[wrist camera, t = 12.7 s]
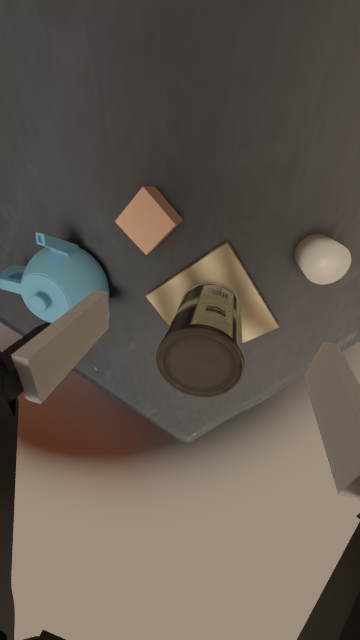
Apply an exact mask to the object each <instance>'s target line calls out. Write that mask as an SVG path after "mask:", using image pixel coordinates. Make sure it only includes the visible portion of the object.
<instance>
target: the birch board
mask: <svg viewBox="0 0 360 640" xmlns="http://www.w3.org/2000/svg"><path fill="white" fill-rule="evenodd" d="M205 282H214V283H219V284H222V285H224V286H226V287H228V288H230V289H231V290H232V291H233V292H234V293H235V294H236V295H237V297H238V298H239V300H240V303H241V307H242V314H241V322H242V343H244V342H246V341H249V340H251V339H253V338H256V337H258V336H260V335H263V334H265V333H267V332H270V331H272V330H274V329H277V328H279V325H278V322H277V321H276V319H275V317H274V316H273V314H272V312H271V311H270V309H269V307H268V306H267V304H266V303H265V301H264V299H263V298H262V296H261V294H260V293H259V291H258V289H257V288H256V286H255V285H254V283H253V281H252V280H251V278H250V276H249V275H248V273H247V271H246V270H245V268H244V266H243V265H242V263H241V262H240V260H239V258H238V257H237V255H236V253H235V252H234V250H233V248H232V247H231V245H230V243H229V242H228V241H226V242H225V243H223V244H222V245H220V246H219V247H217V248H216V249H214V250H213V251H211V252H210V253H208V254H207V255H205V256H204V257H202V258H201V259H199V260H198V261H196V262H195V263H193V264H192V265H190V266H189V267H187V268H186V269H184V270H183V271H181V272H179V273H178V274H176V275H175V276H173V277H172V278H170V279H169V280H167V281H166V282H164V283H163V284H161V285H160V286H158V287H157V288H155V289H154V290H152V291H151V292H149V293H148V294H147V295H146V297H147V298H148V300H149V301H150V302H151V303H152V305H153V306H154V307H155V308H156V310H157V311H158V312H159V314H160V315H161V316H162V317H163V319H164V320H165V321H166V322H167V324H168V325H169V326H170V325H171V323H172V321H173V319H174V316H175V314H176V312H177V310H178V308H179V306H180V303H181V300H182V298H183V296H184V294H185V293H186V292H187V291H188V290H189V289H190V288H192V287H193V286H195V285H197V284H201V283H205Z"/></svg>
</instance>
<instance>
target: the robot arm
mask: <svg viewBox="0 0 360 640" xmlns="http://www.w3.org/2000/svg"><path fill="white" fill-rule="evenodd" d="M108 328H109V317H108V294H107V292H105V291H101V290H95V291H94V292H92V293H91V294H90V295H88V296H87V297H86V298H85V299H83V300H82V301H81V302H79V303H78V304H77V305H75V306H74V307H73V308H72V309H70V310H69V311H68V312H66V313H65V314H64V315H62V316H61V317H60V318H59V319H57V320H56V321H55V322H53V323H52V324H50V323H45V324H43V325H40V326H38V327H36V328H34V329H33V330H32V331H30V332H29V334H26V335H25V336H23V337H22V339H20V340H18V341H17V342H16V343H14V344H13V345H11V346H10V347H8V348H7V349H6V350H4V351H3V352H2V353H1V352H0V640H14V622H15V621H14V620H15V617H14V616H15V614H14V600H13V595H12V589H11V569H12V544H13V522H14V498H15V475H16V474H15V472H16V451H17V450H16V449H17V427H18V404H19V401H18V398H17V397H18V396H19V395H20V394H21V393H22V392H23V391H24V394H25V397H26V399H27V400H30V401H33V402H36V403H40V404H41V403H42V402H43V401H44V400H45V399H46V398H47V396H48V395H49V394H50V393H51V392H52V391H53V390H54V389H55V388H56V386H57V385H58V384H59V383H60V382H61V381H62V380H63V378H64V377H65V376H66V375H67V374H68V373H69V372H70V371H71V370H72V368H73V367H74V366H75V365H76V364H77V363H78V362H79V361H80V359H81V358H82V357H83V356H84V355H85V354H86V353H87V352H88V351H89V349H90V348H91V347H92V346H93V345H94V344H95V343H96V342H97V340H98V339H99V338H100V337H101V336H102V335H103V334H104V333H105V331H106V330H107V329H108ZM304 379H305V382H306V386H307V389H308V393H309V396H310V399H311V403H312V406H313V410H314V413H315V416H316V420H317V423H318V427H319V430H320V433H321V437H322V440H323V443H324V447H325V450H326V453H327V457H328V461H329V464H330V467H331V471H332V474H333V478H334V481H335V484H336V487H337V491H338V494H340V495H344V496H347V497H350V498H353V499H357V500H360V384H359V383H358V381H357V379H356V377H355V375H354V373H353V372H352V370H351V368H350V366H349V364H348V363H347V361H346V359H345V357H344V355H343V353H342V352H341V350H340V348H339V346H338V345H337V344H333V343H328V342H324V341H323V343H322V345H321V346H320V348H319V350H318V352H317V353H316V355H315V357H314V359H313V360H312V362H311V364H310V366H309V367H308V369H307V371H306V373H305V374H304ZM357 517H358V518H359V519H360V513H359V514H358V515H357ZM24 640H65V639H63V638H61V637H58V636H56V635H54V634H51V633H49V632H47V631H45V630H43V631H42V633H41V635H40V636H35V637H31V638H27V639H24ZM297 640H360V522H359V524H358V526H357V528H356V530H355V532H354V534H353V535H352V537H351V539H350V541H349V543H348V545H347V547H346V549H345V550H344V552H343V554H342V556H341V558H340V560H339V562H338V564H337V565H336V568H335V569H334V571H333V573H332V575H331V577H330V579H329V580H328V582H327V584H326V586H325V588H324V590H323V592H322V594H321V595H320V597H319V599H318V601H317V603H316V605H315V607H314V609H313V611H312V612H311V614H310V616H309V618H308V620H307V622H306V624H305V626H304V627H303V629H302V631H301V633H300V635H299V637H298V639H297Z"/></svg>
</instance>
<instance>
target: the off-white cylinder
mask: <svg viewBox="0 0 360 640" xmlns="http://www.w3.org/2000/svg"><path fill="white" fill-rule="evenodd" d="M294 258H295V261H296V263H297V265H298V266H299V267H300V269H301V270H302V272H303V273H304V274H305V276H306V277H307V278H308V279H309V280H310V281H311V282H313V283H316V284H329V283H333V282H335V281H337V280H339V279H340V278H341V277H343V276H344V275H345V274H346V272H347V271H348V269H349V267H350V264H351V255H350V252H349V250H348V249H347V248H346V247H344V246H343V245H341V244H340V243H338V242H336V241H335V240H333V239H331V238H330V237H328V236H326V235H324V234H312V235H309V236H307V237H305V238H304V239H302V240H301V241H300V242H299V243H298V245H297V246H296V249H295V252H294Z"/></svg>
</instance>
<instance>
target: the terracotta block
mask: <svg viewBox="0 0 360 640" xmlns="http://www.w3.org/2000/svg"><path fill="white" fill-rule="evenodd" d="M182 221H183V219H182V218H181V217H180V216H179V215H178V213H177V212H176V211H175V210H174V209H173V207H172V206H171V205H170V204H169V203H168V202H167V200H166V199H165V198H164V197H163V196H162V194H161V193H160V192H159V191H158V190H157V189H156V187H155V186H148V187H142V188H141V190H140V191H139V192H138V193H137V195H136V196H135V197H134V198H133V200H132V201H131V202H130V203H129V205H128V206H127V207H126V208H125V210H124V211H123V212H122V213H121V215H120V216H119V217H118V218H117V220H116V221H115V222H116V223H117V224H118V225H119V226H120V228H121V229H122V230H123V231H124V232H125V233H126V234H127V235H128V236H129V237H130V238H131V239H132V240H133V242H134V243H135V244H136V245H137V246H138V247H139V248H140V249H141V250H142V251H143V252H144V253H145V254H146V255H147V254H148V253H150V252H151V251H152V250H154V249H155V248H156V247H157V246H158V245H159V244H160V243H161V242H162V241H163V240H164V239H165V238H166V237H167V236H168V235H169V234H170V233H171V232H172V231H173V230H174V229H175V228H176V227H177V226H178V225H179V224H180V223H181V222H182Z"/></svg>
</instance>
